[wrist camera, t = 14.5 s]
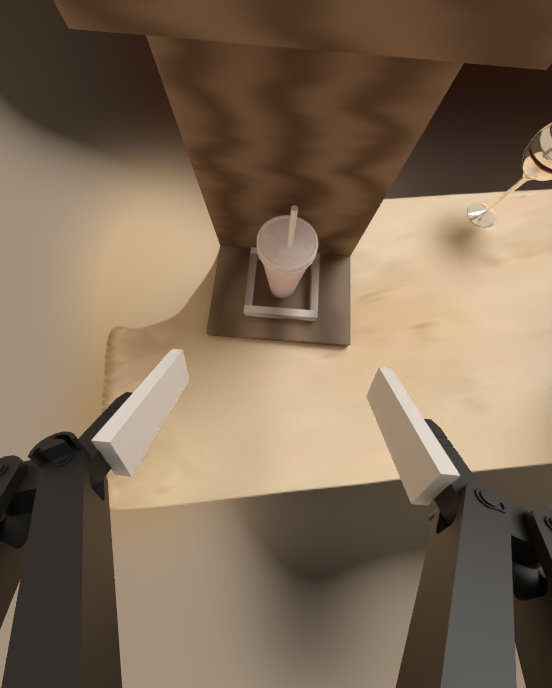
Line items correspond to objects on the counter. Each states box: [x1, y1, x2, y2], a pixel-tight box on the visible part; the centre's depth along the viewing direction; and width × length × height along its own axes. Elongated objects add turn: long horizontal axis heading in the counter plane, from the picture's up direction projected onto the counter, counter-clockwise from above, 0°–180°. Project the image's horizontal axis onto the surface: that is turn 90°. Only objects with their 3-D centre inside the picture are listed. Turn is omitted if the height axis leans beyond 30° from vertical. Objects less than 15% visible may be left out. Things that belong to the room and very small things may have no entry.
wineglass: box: [467, 123, 552, 227], centre depth 29 cm, size 7×7×12 cm
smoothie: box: [257, 205, 318, 298], centre depth 23 cm, size 6×6×14 cm
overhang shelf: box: [53, 0, 552, 346], centre depth 19 cm, size 20×16×25 cm
